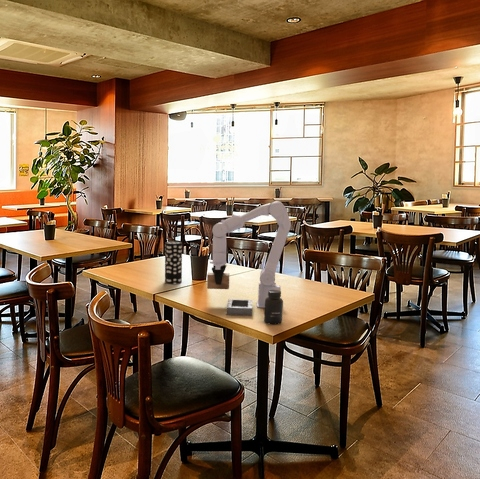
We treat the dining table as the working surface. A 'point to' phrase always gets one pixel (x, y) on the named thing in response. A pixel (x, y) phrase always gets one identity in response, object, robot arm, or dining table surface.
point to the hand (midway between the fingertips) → (218, 283)
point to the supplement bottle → (273, 308)
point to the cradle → (239, 307)
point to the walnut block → (212, 284)
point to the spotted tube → (173, 262)
